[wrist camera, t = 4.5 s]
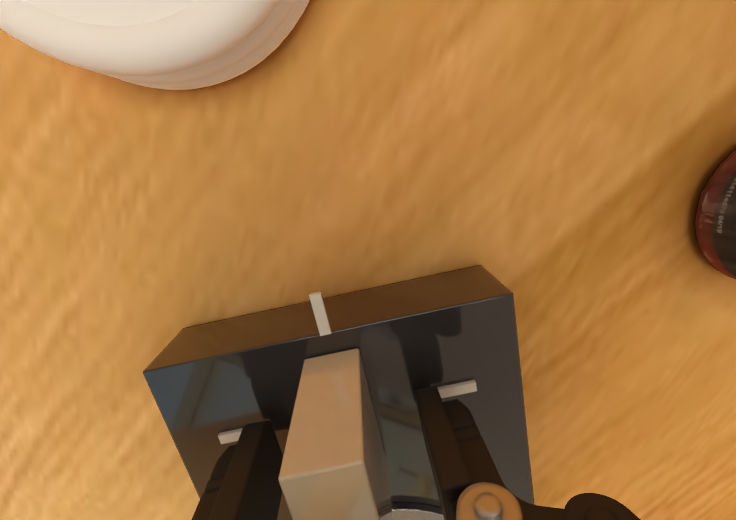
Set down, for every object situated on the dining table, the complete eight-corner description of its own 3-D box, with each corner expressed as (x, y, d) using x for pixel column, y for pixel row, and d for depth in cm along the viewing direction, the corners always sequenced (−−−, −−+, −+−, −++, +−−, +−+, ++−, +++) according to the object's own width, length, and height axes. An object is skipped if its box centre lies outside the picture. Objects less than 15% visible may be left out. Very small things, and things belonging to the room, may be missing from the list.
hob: (169, 295, 14) (120, 335, 11) (476, 229, 14) (511, 251, 11) (290, 598, 19) (279, 681, 16) (516, 552, 19) (548, 629, 16)
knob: (303, 358, 12) (274, 490, 7) (358, 347, 12) (364, 472, 7) (337, 469, 13) (329, 640, 8) (386, 459, 13) (405, 624, 8)
